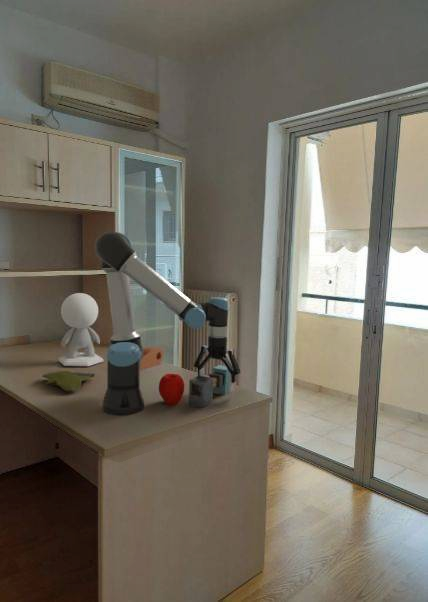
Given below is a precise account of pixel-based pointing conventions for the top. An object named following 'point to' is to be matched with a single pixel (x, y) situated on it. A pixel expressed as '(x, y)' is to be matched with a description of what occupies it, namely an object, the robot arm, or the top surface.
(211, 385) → the sleeve
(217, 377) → the collared tan post
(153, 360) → the crank
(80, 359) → the big headed doll
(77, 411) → the top surface
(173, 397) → the apple
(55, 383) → the toy airplane
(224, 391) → the socket block
